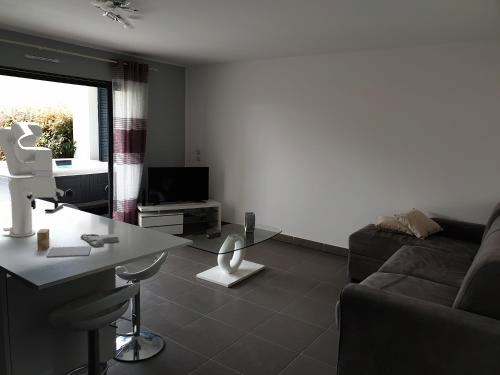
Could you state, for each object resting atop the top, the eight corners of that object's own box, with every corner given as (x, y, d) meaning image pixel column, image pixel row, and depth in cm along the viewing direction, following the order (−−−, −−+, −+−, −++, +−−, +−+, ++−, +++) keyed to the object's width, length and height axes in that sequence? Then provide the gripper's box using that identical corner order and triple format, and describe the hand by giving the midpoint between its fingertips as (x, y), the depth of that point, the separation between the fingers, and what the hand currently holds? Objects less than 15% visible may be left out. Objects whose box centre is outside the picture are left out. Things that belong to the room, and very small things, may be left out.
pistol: (123, 237, 207) (93, 242, 195) (123, 243, 207) (94, 248, 196) (107, 229, 221) (79, 234, 210) (107, 235, 221) (79, 239, 210)
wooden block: (37, 250, 186) (37, 232, 185) (40, 246, 193) (40, 229, 192) (46, 250, 187) (46, 232, 186) (49, 246, 194) (49, 228, 193)
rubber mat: (46, 257, 177) (46, 256, 177) (52, 248, 190) (52, 247, 190) (88, 255, 183) (88, 254, 182) (91, 247, 196) (91, 246, 196)
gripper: (21, 174, 181) (23, 210, 183) (62, 174, 186) (63, 209, 188) (26, 173, 188) (27, 207, 190) (64, 173, 193) (65, 207, 195)
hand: (45, 208), depth 189 cm, fingers open, 9 cm apart
